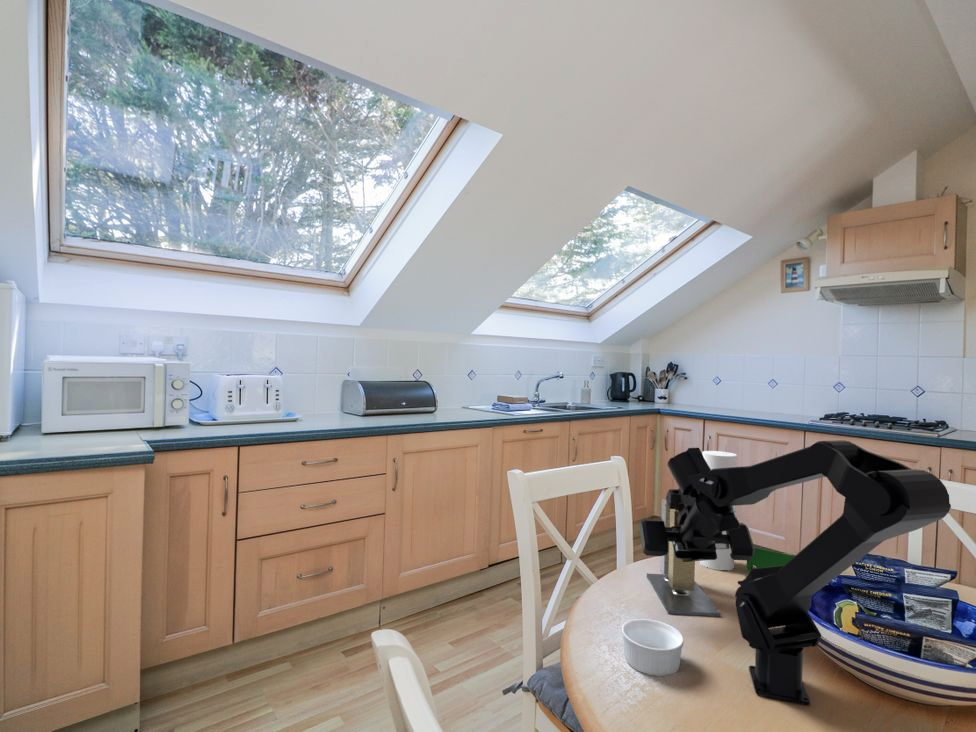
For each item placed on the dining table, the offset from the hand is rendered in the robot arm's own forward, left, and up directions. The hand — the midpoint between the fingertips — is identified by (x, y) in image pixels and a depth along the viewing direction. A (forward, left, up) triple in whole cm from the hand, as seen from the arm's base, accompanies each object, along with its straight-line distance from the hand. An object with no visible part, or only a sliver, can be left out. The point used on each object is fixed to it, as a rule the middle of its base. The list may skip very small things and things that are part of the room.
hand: (684, 559), depth 98 cm
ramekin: (-24, +5, -8) cm, 26 cm away
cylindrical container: (+22, -8, -8) cm, 25 cm away
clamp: (+20, -19, -8) cm, 29 cm away
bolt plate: (+2, 0, -8) cm, 8 cm away
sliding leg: (+2, 0, -8) cm, 8 cm away
